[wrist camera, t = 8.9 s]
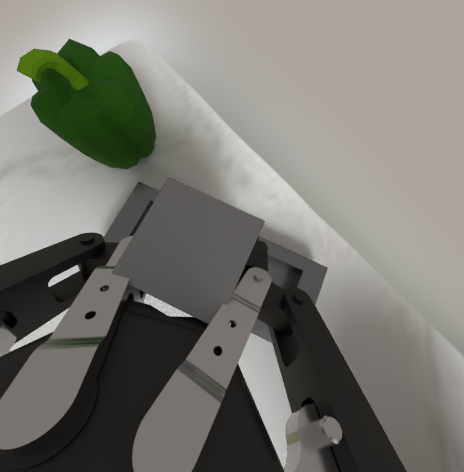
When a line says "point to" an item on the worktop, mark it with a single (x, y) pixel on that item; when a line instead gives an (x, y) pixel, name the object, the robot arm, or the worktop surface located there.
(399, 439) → the worktop surface
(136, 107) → the bell pepper
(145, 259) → the steel peg
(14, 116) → the worktop surface
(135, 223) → the peg hole block
